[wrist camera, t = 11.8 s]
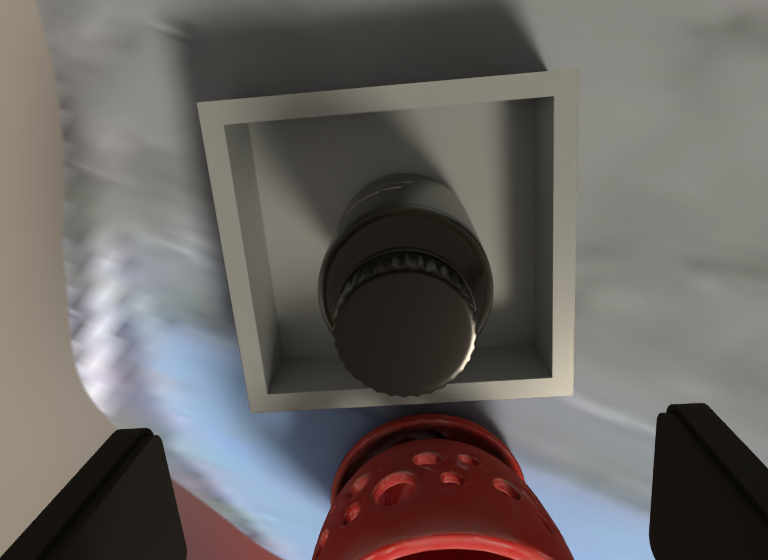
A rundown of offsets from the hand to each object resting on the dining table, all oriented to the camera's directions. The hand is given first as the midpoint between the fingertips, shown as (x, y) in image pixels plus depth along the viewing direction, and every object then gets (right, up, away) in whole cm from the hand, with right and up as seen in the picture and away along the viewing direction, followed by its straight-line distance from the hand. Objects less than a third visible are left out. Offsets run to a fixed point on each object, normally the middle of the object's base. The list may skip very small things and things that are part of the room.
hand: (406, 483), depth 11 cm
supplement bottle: (+1, +6, +19) cm, 20 cm away
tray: (0, +6, +20) cm, 21 cm away
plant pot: (+3, -9, +25) cm, 27 cm away
